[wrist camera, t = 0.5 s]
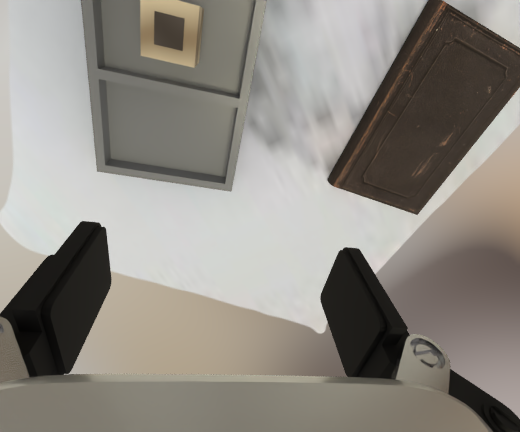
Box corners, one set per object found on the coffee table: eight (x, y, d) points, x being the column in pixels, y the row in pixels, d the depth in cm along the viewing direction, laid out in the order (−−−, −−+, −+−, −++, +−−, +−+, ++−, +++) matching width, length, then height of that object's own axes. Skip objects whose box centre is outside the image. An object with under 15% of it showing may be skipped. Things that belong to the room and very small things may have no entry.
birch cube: (153, -5, 29) (140, -10, 24) (203, 8, 30) (199, 5, 25) (152, 51, 31) (140, 55, 27) (199, 62, 32) (194, 67, 28)
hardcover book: (524, 59, 36) (541, 61, 34) (410, 207, 47) (417, 215, 45) (425, -1, 32) (438, -3, 30) (325, 178, 43) (330, 185, 41)
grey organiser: (70, -280, 20) (51, -315, 18) (298, -185, 23) (304, -206, 21) (104, 163, 38) (97, 171, 36) (231, 183, 41) (231, 191, 39)
